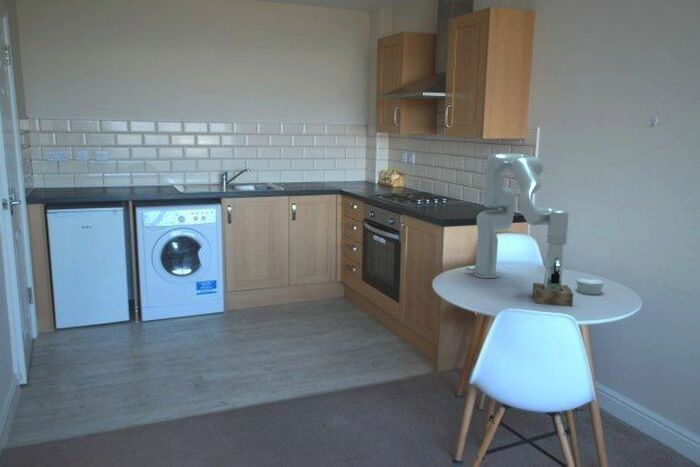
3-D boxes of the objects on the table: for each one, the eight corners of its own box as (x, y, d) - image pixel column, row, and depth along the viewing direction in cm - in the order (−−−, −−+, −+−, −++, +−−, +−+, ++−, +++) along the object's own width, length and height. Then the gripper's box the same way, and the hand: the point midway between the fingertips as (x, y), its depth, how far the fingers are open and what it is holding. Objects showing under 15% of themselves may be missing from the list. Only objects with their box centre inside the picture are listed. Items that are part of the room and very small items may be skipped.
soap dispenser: (556, 298, 246) (559, 264, 244) (559, 302, 241) (562, 267, 238) (542, 297, 247) (545, 263, 244) (545, 301, 241) (548, 267, 239)
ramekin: (595, 289, 263) (596, 277, 262) (607, 295, 252) (608, 284, 251) (571, 288, 263) (572, 277, 262) (581, 295, 252) (582, 283, 251)
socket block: (535, 303, 238) (536, 291, 237) (532, 294, 252) (533, 282, 251) (572, 305, 235) (573, 293, 235) (566, 296, 249) (567, 285, 248)
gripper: (544, 235, 248) (541, 275, 251) (549, 243, 232) (546, 285, 235) (563, 236, 247) (559, 276, 250) (569, 244, 230) (566, 286, 233)
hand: (553, 280), depth 242 cm, fingers open, 9 cm apart
